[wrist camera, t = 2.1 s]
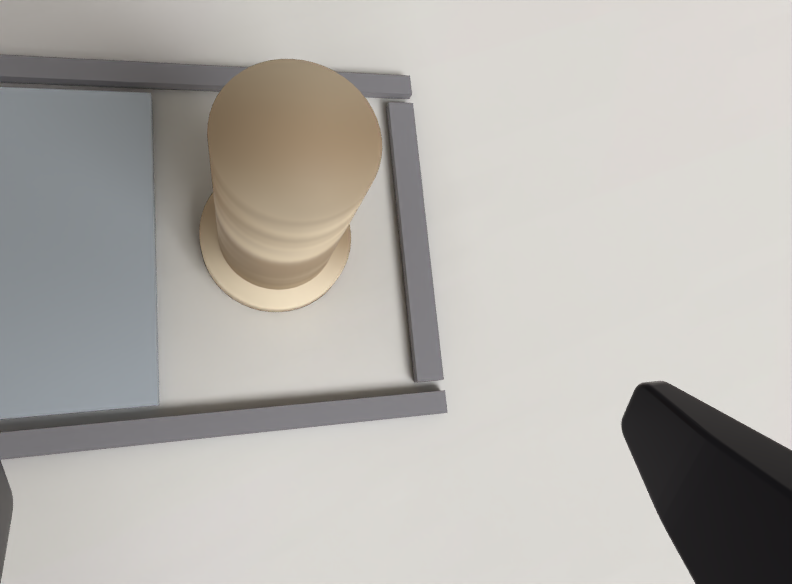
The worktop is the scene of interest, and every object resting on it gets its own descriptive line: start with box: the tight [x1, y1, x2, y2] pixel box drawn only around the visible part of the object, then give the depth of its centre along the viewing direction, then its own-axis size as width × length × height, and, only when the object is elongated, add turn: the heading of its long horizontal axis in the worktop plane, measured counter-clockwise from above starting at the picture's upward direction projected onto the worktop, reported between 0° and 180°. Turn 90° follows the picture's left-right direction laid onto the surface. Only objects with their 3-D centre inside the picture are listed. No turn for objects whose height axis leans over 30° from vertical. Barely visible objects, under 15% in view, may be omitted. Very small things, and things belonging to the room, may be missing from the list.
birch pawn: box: [199, 59, 382, 312], centre depth 18 cm, size 5×5×8 cm
